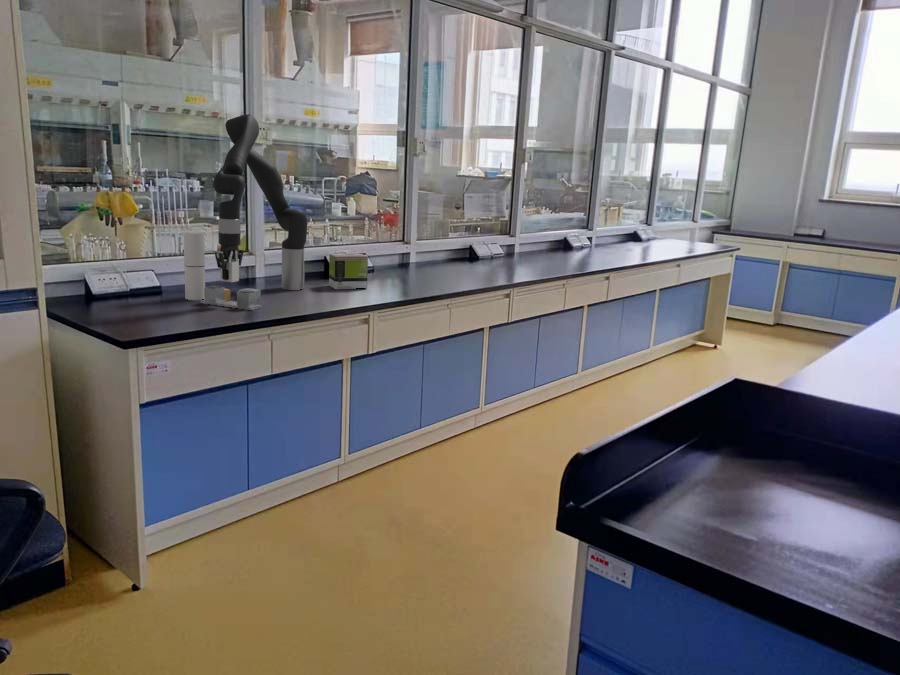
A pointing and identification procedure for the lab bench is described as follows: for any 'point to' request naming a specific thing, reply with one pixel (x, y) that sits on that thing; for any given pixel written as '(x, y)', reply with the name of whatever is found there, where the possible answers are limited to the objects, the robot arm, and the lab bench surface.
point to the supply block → (253, 290)
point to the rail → (217, 297)
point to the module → (231, 272)
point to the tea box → (348, 271)
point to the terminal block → (227, 294)
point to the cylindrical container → (194, 265)
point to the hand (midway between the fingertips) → (229, 278)
